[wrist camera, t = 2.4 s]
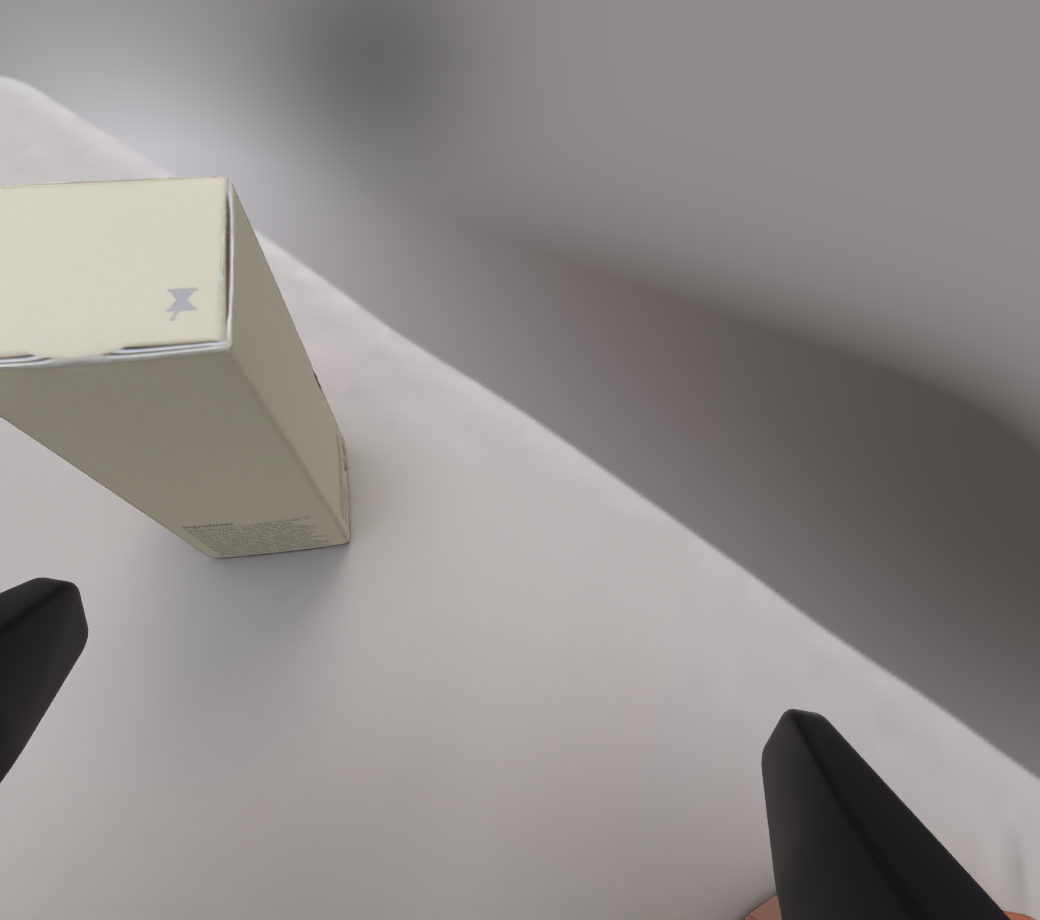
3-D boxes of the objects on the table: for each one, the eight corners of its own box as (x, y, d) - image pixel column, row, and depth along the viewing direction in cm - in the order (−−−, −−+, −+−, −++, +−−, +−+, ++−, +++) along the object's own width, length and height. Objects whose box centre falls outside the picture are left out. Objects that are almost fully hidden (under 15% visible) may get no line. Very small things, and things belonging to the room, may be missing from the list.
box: (347, 439, 25) (250, 165, 13) (352, 548, 23) (244, 347, 11) (203, 451, 24) (-39, 172, 12) (197, 566, 22) (-92, 369, 10)
